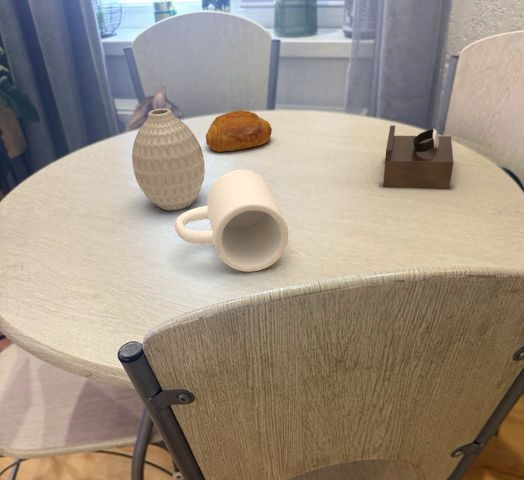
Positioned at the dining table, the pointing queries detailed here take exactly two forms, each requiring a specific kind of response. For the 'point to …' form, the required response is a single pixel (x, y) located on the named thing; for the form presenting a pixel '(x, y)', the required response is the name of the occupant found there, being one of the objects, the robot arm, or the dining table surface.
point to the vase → (168, 161)
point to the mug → (239, 222)
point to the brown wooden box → (417, 163)
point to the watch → (428, 145)
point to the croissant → (237, 131)
